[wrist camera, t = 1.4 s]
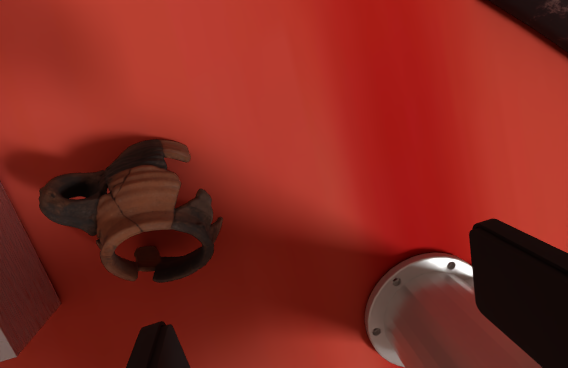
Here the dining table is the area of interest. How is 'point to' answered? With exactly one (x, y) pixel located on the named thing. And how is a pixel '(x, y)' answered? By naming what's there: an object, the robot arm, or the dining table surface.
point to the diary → (541, 17)
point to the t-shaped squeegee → (20, 285)
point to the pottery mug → (135, 209)
